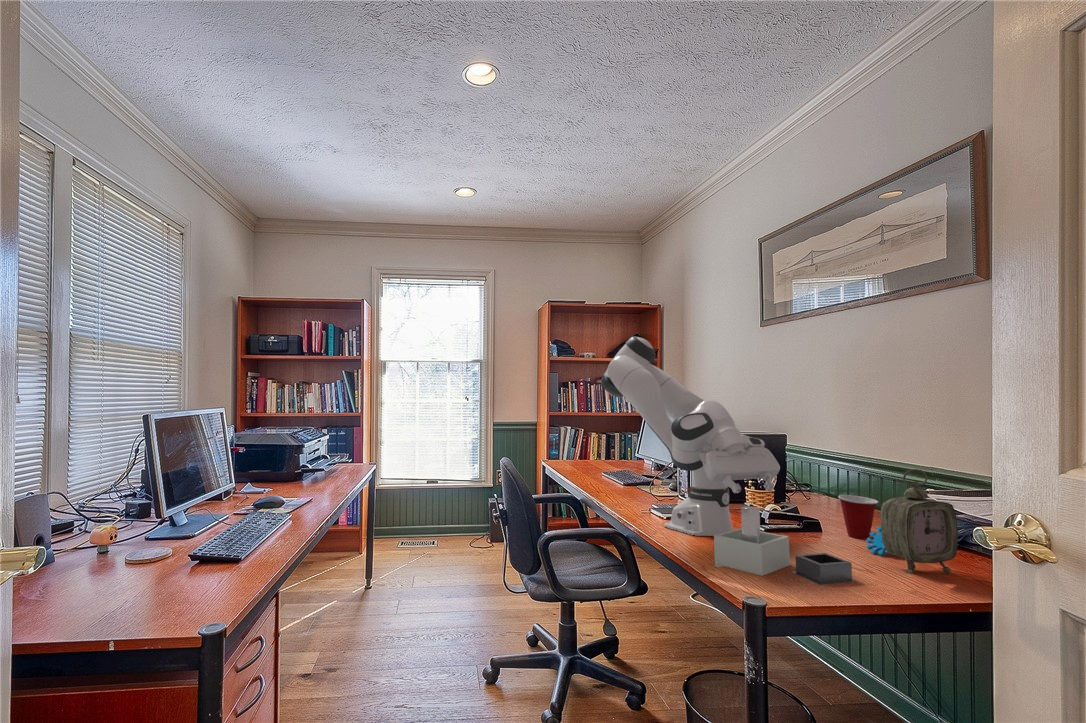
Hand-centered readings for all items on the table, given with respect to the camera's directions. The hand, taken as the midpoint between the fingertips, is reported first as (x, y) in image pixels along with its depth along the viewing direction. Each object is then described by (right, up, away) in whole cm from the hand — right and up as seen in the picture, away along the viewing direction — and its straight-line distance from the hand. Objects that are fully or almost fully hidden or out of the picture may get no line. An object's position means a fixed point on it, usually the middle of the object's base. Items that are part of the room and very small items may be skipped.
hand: (754, 490), depth 143 cm
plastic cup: (+44, -21, +30) cm, 57 cm away
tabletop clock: (+39, -19, -5) cm, 43 cm away
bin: (-1, -20, -1) cm, 20 cm away
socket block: (+12, -19, -10) cm, 25 cm away
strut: (-1, -19, -1) cm, 19 cm away
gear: (+40, -20, +11) cm, 47 cm away
